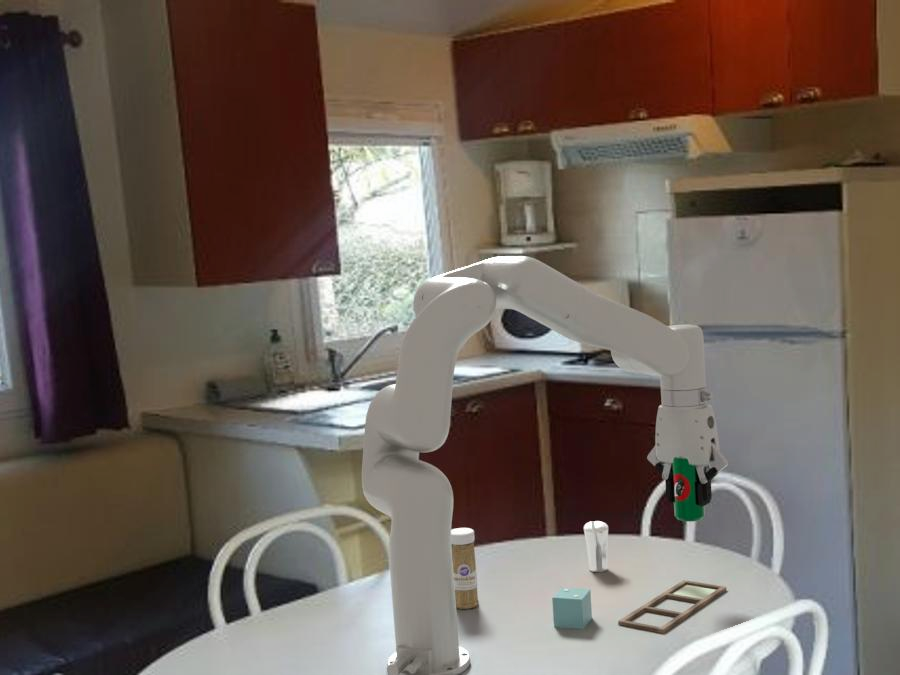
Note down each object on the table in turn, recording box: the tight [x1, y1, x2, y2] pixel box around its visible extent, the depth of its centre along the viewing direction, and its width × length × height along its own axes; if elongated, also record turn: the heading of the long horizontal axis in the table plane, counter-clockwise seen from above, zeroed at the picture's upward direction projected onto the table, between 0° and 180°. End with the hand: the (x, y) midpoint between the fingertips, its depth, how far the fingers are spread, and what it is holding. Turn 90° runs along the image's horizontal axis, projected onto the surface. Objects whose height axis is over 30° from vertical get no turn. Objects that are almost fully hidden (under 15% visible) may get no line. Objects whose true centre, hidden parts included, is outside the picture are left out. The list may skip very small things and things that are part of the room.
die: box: [551, 587, 593, 630], centre depth 183 cm, size 5×5×5 cm
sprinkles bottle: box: [451, 527, 480, 610], centre depth 195 cm, size 5×5×14 cm
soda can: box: [672, 456, 706, 523], centre depth 191 cm, size 5×5×12 cm
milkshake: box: [583, 520, 609, 573], centre depth 209 cm, size 5×5×10 cm
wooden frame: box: [617, 579, 727, 634], centre depth 187 cm, size 23×8×1 cm, turn 141°
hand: (688, 501), depth 191 cm, fingers closed on soda can, 5 cm apart
